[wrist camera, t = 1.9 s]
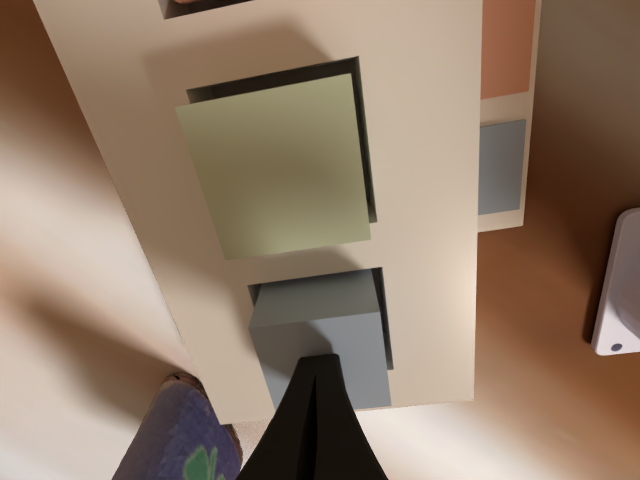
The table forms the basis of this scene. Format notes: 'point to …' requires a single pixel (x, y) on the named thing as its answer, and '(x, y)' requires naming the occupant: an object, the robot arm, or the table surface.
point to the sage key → (280, 167)
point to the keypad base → (376, 154)
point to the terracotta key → (186, 1)
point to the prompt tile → (506, 109)
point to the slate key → (323, 332)
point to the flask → (182, 438)
